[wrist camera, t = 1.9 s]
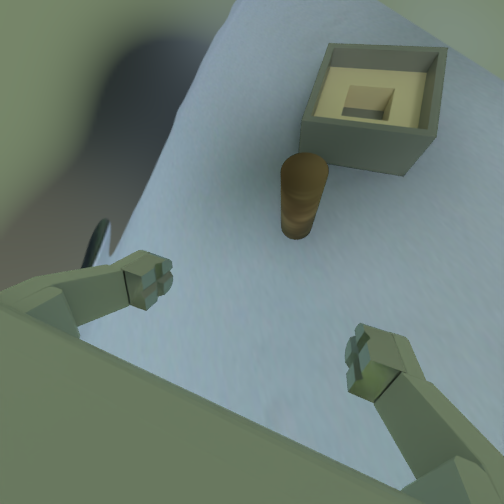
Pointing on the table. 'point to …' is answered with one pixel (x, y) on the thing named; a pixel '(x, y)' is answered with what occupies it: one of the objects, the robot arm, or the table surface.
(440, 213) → the table surface
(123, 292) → the robot arm
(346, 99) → the bore box
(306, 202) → the peg
